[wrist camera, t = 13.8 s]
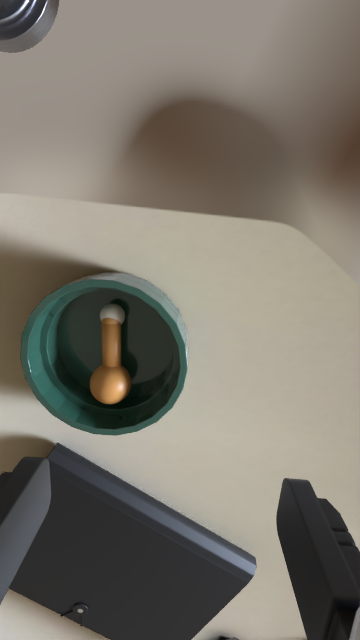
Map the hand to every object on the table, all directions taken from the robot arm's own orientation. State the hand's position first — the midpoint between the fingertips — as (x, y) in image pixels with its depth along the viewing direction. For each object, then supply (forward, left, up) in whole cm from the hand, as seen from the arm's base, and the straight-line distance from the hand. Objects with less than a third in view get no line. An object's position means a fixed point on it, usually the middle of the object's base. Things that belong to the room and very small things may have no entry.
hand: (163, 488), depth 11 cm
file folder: (+38, -8, -28) cm, 48 cm away
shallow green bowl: (+5, -8, -28) cm, 29 cm away
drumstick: (+6, -8, -27) cm, 29 cm away
